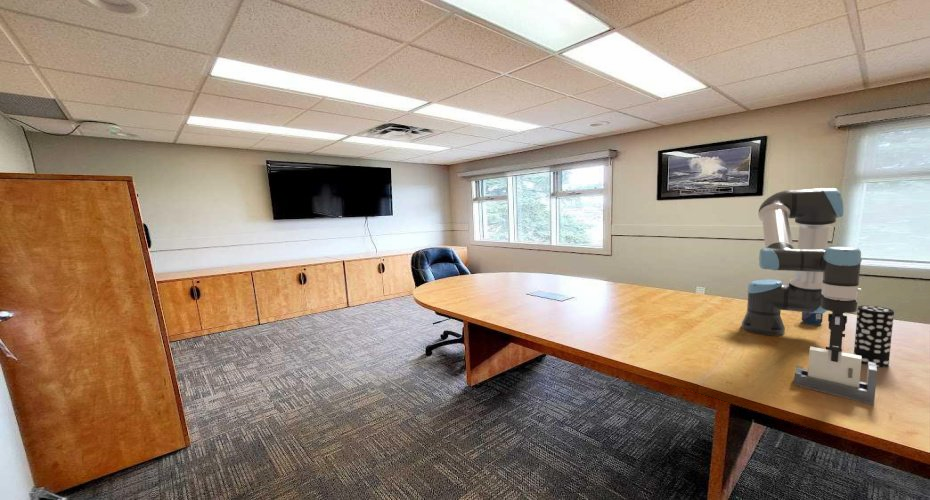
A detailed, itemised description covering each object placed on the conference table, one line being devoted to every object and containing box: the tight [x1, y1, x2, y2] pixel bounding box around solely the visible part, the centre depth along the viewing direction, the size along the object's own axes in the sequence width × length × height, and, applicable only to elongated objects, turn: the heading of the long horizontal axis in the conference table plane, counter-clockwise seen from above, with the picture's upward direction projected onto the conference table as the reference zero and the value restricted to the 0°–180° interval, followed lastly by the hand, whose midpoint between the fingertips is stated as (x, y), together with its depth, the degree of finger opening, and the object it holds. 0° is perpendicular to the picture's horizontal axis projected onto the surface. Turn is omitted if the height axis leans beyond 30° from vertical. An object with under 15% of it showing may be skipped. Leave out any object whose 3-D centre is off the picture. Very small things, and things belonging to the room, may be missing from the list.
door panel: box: [807, 346, 862, 388], centre depth 108 cm, size 11×3×12 cm, turn 42°
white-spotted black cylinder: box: [853, 305, 895, 368], centre depth 123 cm, size 8×8×20 cm
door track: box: [793, 362, 878, 406], centre depth 108 cm, size 17×7×11 cm, turn 42°
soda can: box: [801, 312, 824, 326], centre depth 162 cm, size 7×7×12 cm
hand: (833, 363), depth 108 cm, fingers open, 13 cm apart
